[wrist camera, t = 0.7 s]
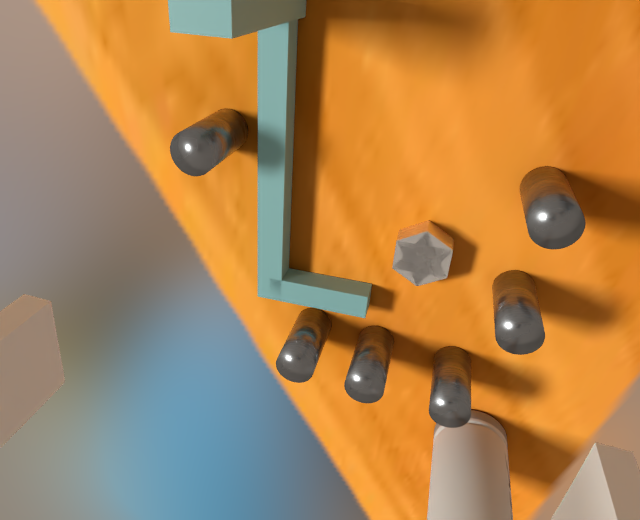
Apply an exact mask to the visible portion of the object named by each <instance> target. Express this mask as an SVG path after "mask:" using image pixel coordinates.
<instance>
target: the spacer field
mask: <svg viewBox="0 0 640 520" xmlns="http://www.w3.org/2000/svg"><path fill="white" fill-rule="evenodd" d="M247 136H248V128H247V124H246V122H245V120H244V118H243V117H242V116H241V115H240V114H239V113H238V112H236V111H234V110H232V109H221V110H218V111H217V112H215V113H213V114H211V115H209V116H208V117H206V118H204V119H202V120H201V121H199V122H197V123H195V124H193V125H192V126H190V127H188V128H186V129H184V130H183V131H181V132H179V133H177V134H176V135H175V136H174V137H173V139H172V141H171V145H170V152H171V156H172V159H173V161H174V163H175V164H176V166H177V167H178V168H179V169H180V170H181V171H183V172H184V173H186V174H188V175H191V176H201V175H204V174H206V173H207V172H208V171H210V170H211V169H212V168H214V167H215V166H216V165H217V164H219V163H220V162H221V161H223V160H224V159H225V158H227V157H228V156H229V155H230V154H232V153H233V152H234V151H236V150H237V149H238V148H240V147H241V146H242V145H243V144H244V143H245V142H246V140H247ZM520 195H521V200H522V205H523V209H524V214H525V219H526V223H527V228H528V232H529V235H530V237H531V239H532V240H533V241H534V242H535V243H536V244H537V245H539V246H541V247H544V248H547V249H561V248H565V247H567V246H570V245H571V244H573V243H575V242H576V241H577V240H578V239H579V238H580V237H581V235H582V234H583V231H584V228H585V218H584V215H583V213H582V211H581V208H580V206H579V204H578V202H577V200H576V197H575V195H574V193H573V191H572V189H571V186H570V184H569V182H568V180H567V178H566V176H565V174H564V173H563V172H562V171H560V170H559V169H557V168H554V167H548V166H545V167H539V168H536V169H534V170H532V171H530V172H529V173H528V174H527V175H526V176H525V177H524V178H523V180H522V182H521V184H520ZM492 289H493V305H494V321H495V336H496V341H497V343H498V345H499V346H500V347H501V348H502V349H504V350H505V351H507V352H509V353H513V354H520V355H521V354H528V353H532V352H534V351H536V350H537V349H539V348H540V347H541V346H542V344H543V342H544V339H545V332H544V327H543V322H542V317H541V312H540V307H539V302H538V297H537V292H536V287H535V283H534V280H533V279H532V278H531V276H529V275H528V274H527V273H525V272H522V271H517V270H511V271H506V272H504V273H502V274H500V275H499V276H498V277H497V278H496V279H495V280H494V282H493V286H492ZM330 329H331V320H330V318H329V317H328V315H327V314H326V313H325V312H323V311H321V310H319V309H316V308H308V309H305V310H303V311H302V312H301V313H300V314H299V316H298V318H297V320H296V322H295V324H294V326H293V328H292V330H291V332H290V334H289V336H288V338H287V340H286V342H285V344H284V346H283V348H282V350H281V352H280V354H279V356H278V358H277V361H276V367H277V370H278V371H279V373H280V374H281V375H282V376H283V377H284V378H286V379H287V380H290V381H292V382H298V383H300V382H305V381H308V380H309V379H310V378H311V377H312V375H313V373H314V370H315V367H316V365H317V362H318V360H319V357H320V355H321V352H322V350H323V347H324V345H325V342H326V339H327V337H328V334H329V332H330ZM393 345H394V339H393V336H392V334H391V333H390V332H389V331H388V330H387V329H385V328H383V327H380V326H368V327H366V328H364V329H363V330H362V331H361V332H360V335H359V338H358V341H357V344H356V348H355V351H354V354H353V357H352V361H351V364H350V367H349V370H348V374H347V377H346V380H345V390H346V392H347V394H348V395H349V396H350V397H351V398H353V399H354V400H356V401H359V402H362V403H373V402H376V401H378V400H379V399H381V397H382V396H383V393H384V388H385V383H386V379H387V374H388V369H389V364H390V359H391V355H392V350H393ZM429 414H430V416H431V418H432V419H433V420H434V421H435V422H436V423H437V424H439V425H441V426H444V427H448V428H457V427H461V426H463V425H465V424H466V423H468V421H469V420H470V417H471V358H470V356H469V354H468V353H467V352H466V351H464V350H463V349H461V348H458V347H454V346H448V347H444V348H441V349H440V350H438V351H437V352H436V354H435V356H434V364H433V374H432V385H431V395H430V405H429Z"/></svg>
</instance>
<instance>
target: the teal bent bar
mask: <svg viewBox="0 0 640 520" xmlns="http://www.w3.org/2000/svg"><path fill="white" fill-rule="evenodd" d="M168 7H169V20H170V32H175V33H185V34H194V35H204V36H213V37H223V38H235V37H239V36H242V35H246V34H249V33H252V32H256V31H258V297H263V298H268V299H273V300H278V301H283V302H288V303H293V304H298V305H303V306H308V307H313V308H318V309H323V310H328V311H333V312H338V313H342V314H347V315H352V316H357V317H362V318H365V317H366V314H367V310H368V307H369V303H370V296H371V288H372V284H370V283H365V282H360V281H354V280H349V279H344V278H338V277H333V276H328V275H323V274H317V273H312V272H307V271H301V270H296V269H291V268H289V254H290V226H291V199H292V171H293V144H294V116H295V89H296V62H297V34H298V19H300V18H304V17H306V0H168Z"/></svg>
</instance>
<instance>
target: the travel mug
mask: <svg viewBox="0 0 640 520" xmlns="http://www.w3.org/2000/svg"><path fill="white" fill-rule="evenodd" d="M433 442H434V444H433V453H432V466H431V478H430V490H429V503H428V515H427V520H513V515H512V502H511V488H510V475H509V461H508V450H507V435H506V432H505V430H504V428H503V427H502V425H501V424H500V423H499V422H498V421H497V420H496V419H494V418H493V417H491V416H489V415H487V414H485V413H483V412H480V411H475V410H471V417H470V420H469V421H468V423H466V424H465V425H463V426H461V427H457V428H448V427H444V426H441V425H439V424H436V426H435V430H434V441H433Z"/></svg>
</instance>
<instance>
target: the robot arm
mask: <svg viewBox="0 0 640 520" xmlns="http://www.w3.org/2000/svg"><path fill="white" fill-rule="evenodd" d="M64 383H65V378H64V372H63V367H62V361H61V355H60V350H59V345H58V339H57V333H56V327H55V322H54V316H53V310H52V305H51V301H48V300H44V299H41V298H36V297H33V296H29V295H25V294H24V295H22V296H21V297H20V298H18V299H17V300H15V301H14V302H13V303H11V304H10V305H8V306H7V307H6V308H4V309H3V310H2V311H0V448H1V447H2V446H3V445H4V444H5V443H6V442H7V441H8V440H9V439H10V438H11V437H12V436H13V435H14V434H15V433H16V432H17V431H18V430H19V429H20V428H21V426H23V424H25V423H26V422H27V420H28V419H29V418H30V417H31V416H32V415H33V414H34V413H35V412H36V411H37V410H38V409H39V408H40V407H41V406H42V405H43V404H44V403H45V402H46V401H47V400H48V399H49V398H50V397H51V396H52V395H53V394H54V393H55V392H56V391H57V390H58V389H59V388H60V387H61V386H62V384H64ZM551 520H640V470H639V468H638V465H637V462H636V459H635V457H634V454H633V452H631V451H627V450H623V449H620V448H616V447H612V446H608V445H604V444H600V443H597V442H595V443H594V445H593V447H592V449H591V450H590V452H589V454H588V456H587V457H586V459H585V461H584V463H583V465H582V466H581V468H580V470H579V471H578V473H577V475H576V477H575V478H574V480H573V482H572V484H571V486H570V487H569V489H568V491H567V492H566V494H565V496H564V498H563V499H562V501H561V503H560V505H559V506H558V508H557V510H556V512H555V513H554V515H553V517H552V519H551Z"/></svg>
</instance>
